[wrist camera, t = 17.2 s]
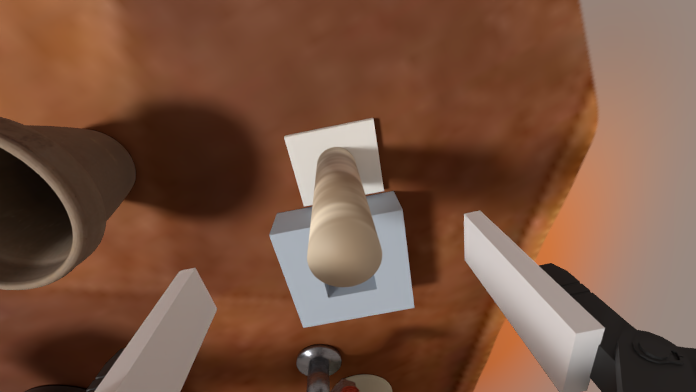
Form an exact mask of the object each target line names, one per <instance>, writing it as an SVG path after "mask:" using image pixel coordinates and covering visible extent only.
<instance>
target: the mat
mask: <svg viewBox="0 0 696 392" xmlns="http://www.w3.org/2000/svg"><path fill="white" fill-rule="evenodd" d="M284 139H285V142H286V146H287V149H288V153H289V156H290V160H291V163H292V166H293V170H294V173H295V177H296V180H297V184H298V187H299V191H300V194H301V197H302V201H303V204H304V206H309V205H313V196H314V187H315V178H316V168H317V161H318V158H319V156H320V155H321V154H322V153H323V152H324V151H325V150H327V149H329V148H332V147H341V148H344V149H346V150H348V151H349V152H350V153H351V154H352V155H353V157H354V159H355V162H356V165H357V169H358V172H359V175H360V179H361V182H362V185H363V189H364V192H365V194H371V193H376V192H381V191H384V187H383V180H382V174H381V167H380V160H379V153H378V146H377V139H376V133H375V126H374V119H373V118H370V119H365V120H360V121H355V122H350V123H345V124H341V125H336V126H331V127H326V128H321V129H316V130H311V131H306V132H301V133H296V134H291V135H286V136H285V137H284Z"/></svg>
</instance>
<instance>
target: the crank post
mask: <svg viewBox="0 0 696 392" xmlns="http://www.w3.org/2000/svg"><path fill="white" fill-rule="evenodd" d="M340 366H341V355H340V353H339V351H338V350H336V349H335V348H334V347H331V346H329V345H323V344H317V345H311V346H308V347H306V348H304V349H303V350H302V351H301V352H300V353H299V354H298V357H297V368H298V369H299V371H300V372H301V373H303V374H305V375H307V376H308V379H307V392H329V376H330V375H332V374H334V373H335V372H337V371H338V370H339V368H340Z"/></svg>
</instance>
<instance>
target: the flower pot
mask: <svg viewBox="0 0 696 392" xmlns="http://www.w3.org/2000/svg"><path fill="white" fill-rule="evenodd" d="M135 179H136V170H135V165H134V162H133V160H132V158H131V156H130V155H129V153H128V152H127V151H126V149H125V148H124V147H123V146H122V145H121V144H120V143H119V142H117V141H116V140H115V139H113V138H111V137H110V136H108V135H106V134H103V133H101V132H98V131H94V130H89V129H80V128H68V127H55V126H28V125H23V124H20V123H18V122H15V121H12V120H9V119H6V118H2V117H0V289H5V290H25V289H32V288H38V287H42V286H45V285H48V284H50V283H53V282H55V281H57V280H59V279H61V278H62V277H64V276H65V275H67V274H68V273H69V272H71V271H72V270H73V269H74V268H75V267H76V266H77V265H79V264H80V263H81V262H82V261H84V260H85V259H86V258H87V257H88V256H89V255H91V254H92V253H93V252H94V251H95V249H96V248H97V247H98V245H99V244H100V242H101V240H102V238H103V235H104V231H105V227H106V221H107V220H108V219H109V218H110V216H111V215H112V214H113V213H114V212H115V210H116V209H117V208H118V207H119V205H120V204H121V203H122V202H123V200H124V199H125V197H126V196H127V195H128V193H129V192H130V190H131V189H132V187H133V185H134V183H135Z"/></svg>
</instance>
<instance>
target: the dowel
mask: <svg viewBox="0 0 696 392" xmlns="http://www.w3.org/2000/svg"><path fill="white" fill-rule="evenodd" d="M381 261H382V249H381V245H380V242H379V238H378V235H377V232H376V228H375V225H374V222H373V218H372V215H371V212H370V208H369V205H368V202H367V199H366V195H365V192H364V189H363V185H362V182H361V179H360V175H359V172H358V169H357V165H356V162H355V159H354V157H353V155H352V154H351V153H350V152H349V151H348V150H346V149H344V148H341V147H332V148H329V149H327V150H325V151H324V152H323V153H322V154H321V155H320V156H319V158H318V161H317V168H316V178H315V187H314V196H313V206H312V215H311V224H310V234H309V243H308V252H307V262H308V266H309V268H310V270H311V272H312V273H313V275H314V276H315V277H316V278H317V279H319V280H320V281H322V282H323V283H325V284H328V285H331V286H335V287H351V286H356V285H359V284H361V283H363V282H365V281H367V280H368V279H370V278H371V277H372V276H373V275H374V274H375V273H376V272H377V270H378V269H379V267H380V264H381Z"/></svg>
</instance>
